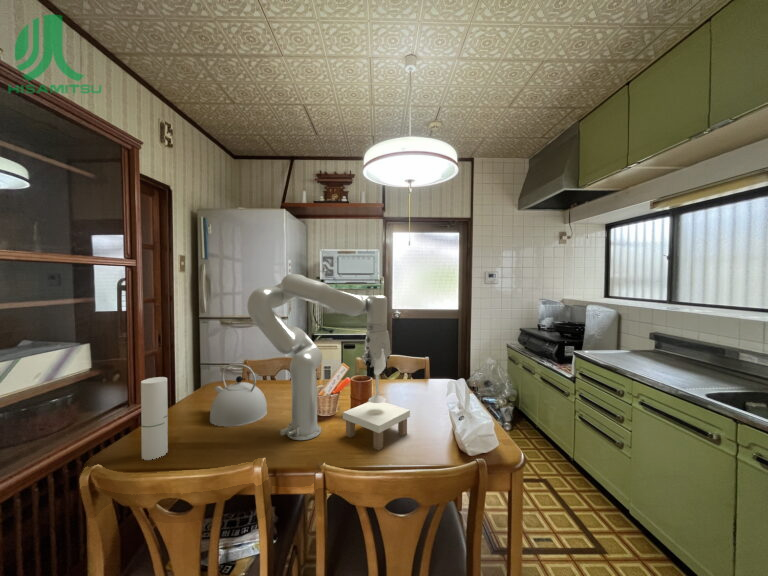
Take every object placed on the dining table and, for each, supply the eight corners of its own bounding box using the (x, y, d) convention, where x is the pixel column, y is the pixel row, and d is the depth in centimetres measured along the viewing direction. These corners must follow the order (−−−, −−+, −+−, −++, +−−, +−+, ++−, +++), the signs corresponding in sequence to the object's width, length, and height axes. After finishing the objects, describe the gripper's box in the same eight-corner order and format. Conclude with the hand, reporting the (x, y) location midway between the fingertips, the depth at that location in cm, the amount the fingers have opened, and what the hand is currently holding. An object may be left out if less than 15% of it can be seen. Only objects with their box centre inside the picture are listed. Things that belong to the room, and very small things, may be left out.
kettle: (192, 421, 134) (192, 367, 134) (234, 402, 155) (233, 356, 155) (241, 430, 126) (240, 373, 126) (277, 409, 147) (277, 360, 147)
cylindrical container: (172, 448, 112) (172, 376, 111) (158, 460, 104) (158, 383, 104) (151, 449, 111) (150, 377, 111) (136, 460, 104) (135, 383, 104)
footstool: (378, 452, 110) (378, 425, 109) (343, 435, 121) (343, 412, 121) (409, 433, 123) (409, 410, 123) (375, 420, 135) (375, 399, 135)
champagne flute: (376, 395, 127) (376, 334, 126) (389, 399, 123) (389, 336, 122) (364, 400, 122) (364, 337, 121) (378, 404, 117) (378, 338, 117)
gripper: (368, 331, 113) (368, 382, 113) (398, 326, 126) (398, 371, 126) (353, 329, 118) (353, 378, 118) (384, 324, 131) (384, 368, 131)
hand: (377, 374), depth 122 cm, fingers closed on champagne flute, 6 cm apart
